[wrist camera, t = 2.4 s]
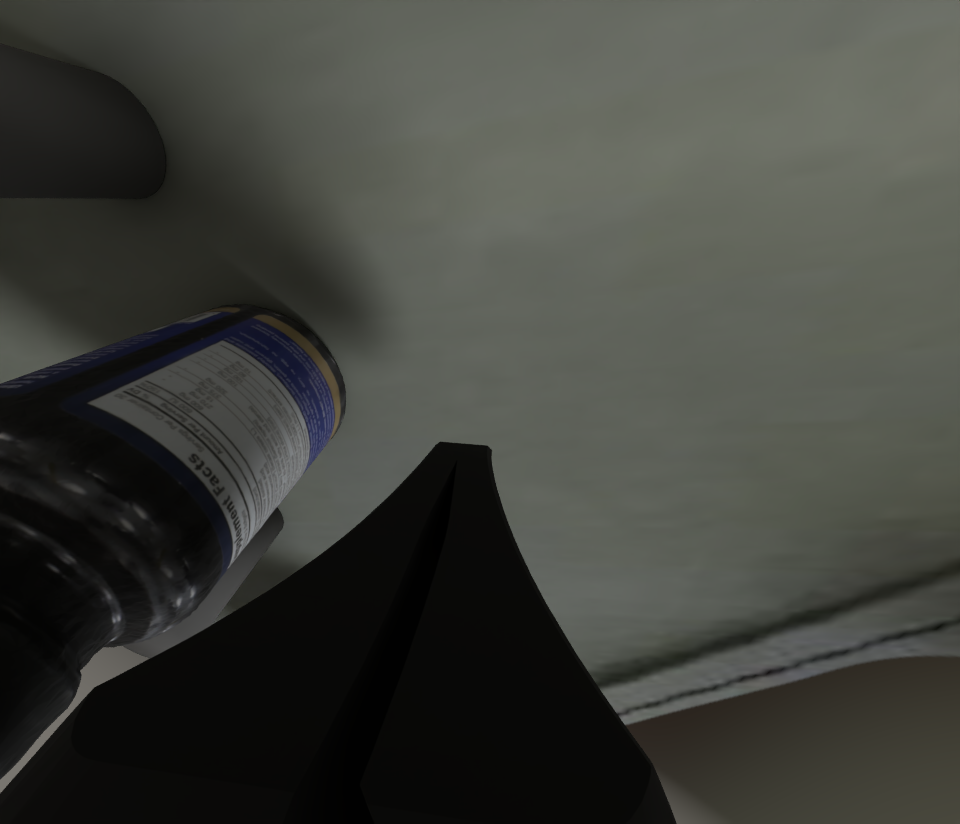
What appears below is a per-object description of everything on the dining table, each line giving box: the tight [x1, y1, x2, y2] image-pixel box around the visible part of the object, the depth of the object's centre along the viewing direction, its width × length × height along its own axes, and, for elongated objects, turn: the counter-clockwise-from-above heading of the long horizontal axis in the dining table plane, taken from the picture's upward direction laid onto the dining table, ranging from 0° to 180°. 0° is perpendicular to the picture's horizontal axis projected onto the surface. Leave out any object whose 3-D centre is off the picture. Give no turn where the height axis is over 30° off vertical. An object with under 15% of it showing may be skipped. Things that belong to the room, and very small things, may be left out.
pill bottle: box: [0, 304, 346, 779], centre depth 10 cm, size 6×6×11 cm
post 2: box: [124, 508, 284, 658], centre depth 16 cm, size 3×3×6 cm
